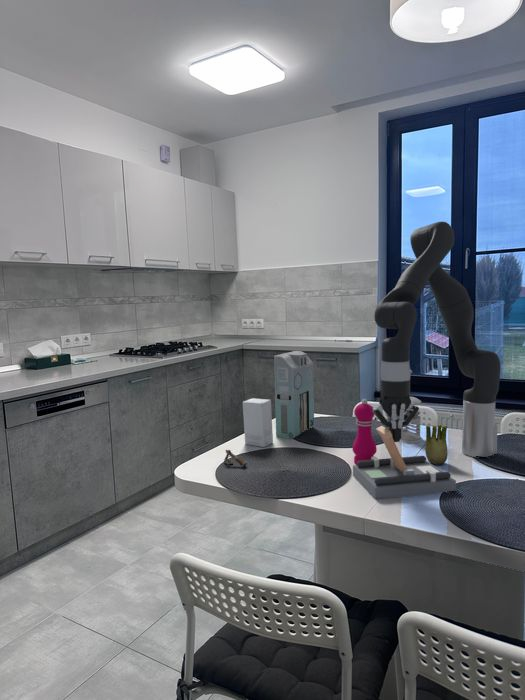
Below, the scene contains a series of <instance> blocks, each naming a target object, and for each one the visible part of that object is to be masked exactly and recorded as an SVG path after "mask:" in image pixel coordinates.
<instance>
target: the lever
mask: <svg viewBox="0 0 525 700" xmlns="http://www.w3.org/2000/svg"><path fill="white" fill-rule="evenodd" d="M375 429H376V431H377V433H378V435H379V436H380V438H381V439H382V441H383V442H382V443H384V446H385V448H386V450H387V452H388V454H389V456H390V458H392V460H393V463H394V465H395V467H396V468H398V469H399V470H400V471H401V472H403V473H404V470H406V469H407V467H406V465H405V463H404V461H403V459H402V457H403V456H402V454H401V453H400V451H399V448H398V447H397V445H396V442H394V440H393V438H392V434H391V432H390V431H389V428H388V429H387V428H386V426H384V425H380V426H379V427H377V428H375Z"/></svg>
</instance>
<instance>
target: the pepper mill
mask: <svg viewBox="0 0 525 700" xmlns="http://www.w3.org/2000/svg"><path fill="white" fill-rule="evenodd" d="M372 408H374V407H373V405H372V404H369V401H368V400H367V398H362V400H361V403H359V404H357V405H356V406H355V409H354V416H355V417H356V420H355V421H356V422H355V424H356V425H357V433H356V437H355V439H354V441H353V443H352V453H354V456H353V462H354V465H357V462H358V461H363V460H371V457H375V455H376V454H377V445H376V444H377V443H376V442H375V440H374V437H373V434H372V426H374V423H373V422H374V417H375V416H376V415H375V414H374V413H373V412H372Z"/></svg>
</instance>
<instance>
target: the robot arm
mask: <svg viewBox="0 0 525 700" xmlns="http://www.w3.org/2000/svg"><path fill="white" fill-rule="evenodd" d="M454 244H455V232H454V229H453V228H452V226H451V225H450V224H449V222H447V221H437V222H433V223H431V224H428V225H425V226H421V227H419V228H416V229H414V230H413V231H412V232H411V234H410V246H411V250H412V252H413V254H414V257H415V260H414V261H413V262H412V263H411V264H410V265H409V266H408V267H407V268H406V269H405V270H404V271H403V272H402V274H401V275H400V277H399V279H398V281H397V283H396V284H395V286H394V288H392V290H391V291H389V292H388V293H387V295H386V296H384V297H383V298H382V300H381V301H380V302H379V303H378V305H377V306H376V308H375V310H374V322H375V324H376V325H377V326H378V327H379V328H381V329H385V330H386V329H387V330H388V329H389V330H390V329H391V330H392V329H393V330H397V333H396V335H395V336H393V337H387V338H385V339H383V340H382V342H381V363H380V364H381V365H380V399H379V402H378V403H379V404H378V405H377V406H375V407H373V408H372V412H373V413H374V414H375V415H374V416H375V417H376V418H377V419H378V421H379V422H380V423H381V424H382V426H384V427H385V428H386V427H387V428H388V430H389V431H390V432H391V434H392V438H393V440H394V442H395V443H400V442H399V441H400V440H401V429H402V427H403V426H405V425H406V426H407V425H408V424H411V423H410V421H411V420H412V419H413V417H414V416H415V414H416V413H417V412H419V410H420V407H419V406H417V405H413V404H412V403H411V399H410V395H411V373H410V370H411V365H410V346H411V345H410V343H411V340H412V336H413V333H414V332H413V331H414V329H415V325H416V323H417V319H418V317H417V316H418V313H417V309H416V307H415V304H417V303H418V301H419V300H420V297H421V295H422V293H423V291H424V289H425V287H426V285H427V283H428V284H429V286H430V290H431V292H432V294H433V297H434V300H435V302H436V305H437V308H438V311H439V313H440V317H442V318H441V319H442V320H443V322H444V325H445V328H446V330H447V332H448V335H449V338H450V341H451V344H452V347H453V351H454V355H455V358H456V359H455V360H456V362H457V365H458V366H457V367H458V369H459V370H460V372H461V374H462V375H464V376H465V377H468V378H471V379H474V381H473V385H472V387H471V388H469V389H466V390H464V392H463V397H462V398H463V399H462V400H463V401H462V404H463V405H462V434H461V436H462V438H461V439H462V440H461V453H463V454H464V455H465V456H469V457H471V458H472V457H473V458H477V457H476V456H491V455H493V454H498V453H497V451H498V449H497V448H498V425H497V424H496V423H495V422H496V399H497V398H496V397H497V396H498V393H499V389H500V380H501V378H500V377H501V369H502V368H501V360H500V357H499V355H498V354H497V353H495V352H494V351H490V350H485V349H479V348H478V347H477V345H476V343H475V340H474V338H473V334H472V325H473V322H474V317H475V316H474V314H475V313H474V312H475V311H474V307H473V306H474V305H473V303H472V300H471V298H470V296H469V293H468V291H467V289H466V287H465V286H463V284H462V283H461V282H459V281H458V280H457V279H455V277H453V276H451V275H450V273H447V272H446V271H445V269H444V268H443V267H442V266H441V265H440V264H441V263H442V262H443V261H444V259H445V258H446V257H447V255H448V254H449V253H450V252H451V250H452V248H453V246H454ZM406 410H407V412H406ZM383 411H384V412H385V414H386V417H385V416H384V415H383ZM405 412H406V413H405ZM404 413H405V415H404ZM386 418H387V419H386ZM407 427H408V426H407ZM403 428H404V427H403ZM493 456H494V455H493Z"/></svg>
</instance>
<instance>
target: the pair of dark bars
mask: <svg viewBox="0 0 525 700" xmlns="http://www.w3.org/2000/svg"><path fill="white" fill-rule="evenodd" d="M401 457H402V459H403V461H404V463H405V464H406V463H418V462H425V461H427V457H426V455H414V456H401ZM391 459H392V458H391V457H390V458H378V457H376V456H374V457H371V460H363V461H358V462H357V464H356V465H357V466H358V467H371V466H374V467H375V468H377V467H379V466H383V465H390V464H391ZM450 477H451V478H452V474H451V473H450V472H449V471H443V472H437V473H434V472H433V471H432V470H426V473H425V474H414V475H403V476H391V477H380V478H376V479H375V484H376V485H384V484H395V483H406V482H417V481H428V480H429V481H431V482H436V480H439V479H449V478H450Z"/></svg>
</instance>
